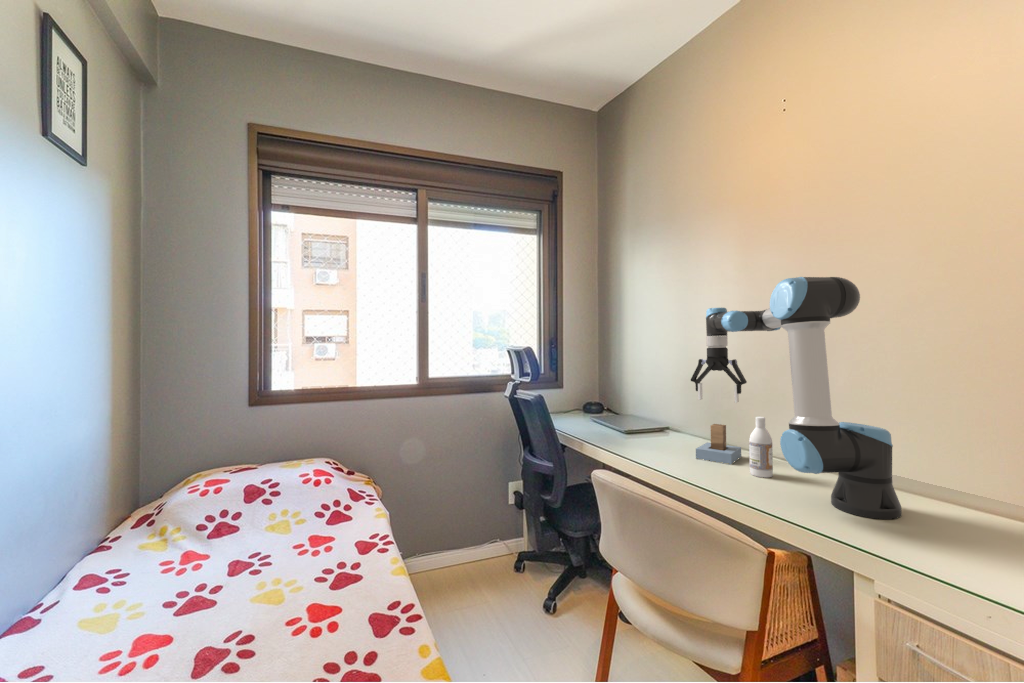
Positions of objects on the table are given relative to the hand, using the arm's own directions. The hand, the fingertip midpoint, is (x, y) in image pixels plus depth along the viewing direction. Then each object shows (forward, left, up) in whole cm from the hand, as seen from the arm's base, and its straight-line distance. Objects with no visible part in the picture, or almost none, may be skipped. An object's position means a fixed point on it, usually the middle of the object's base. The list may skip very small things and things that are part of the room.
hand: (718, 400), depth 173 cm
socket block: (0, 0, -23) cm, 23 cm away
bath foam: (-13, -18, -23) cm, 32 cm away
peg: (0, 0, -23) cm, 23 cm away
